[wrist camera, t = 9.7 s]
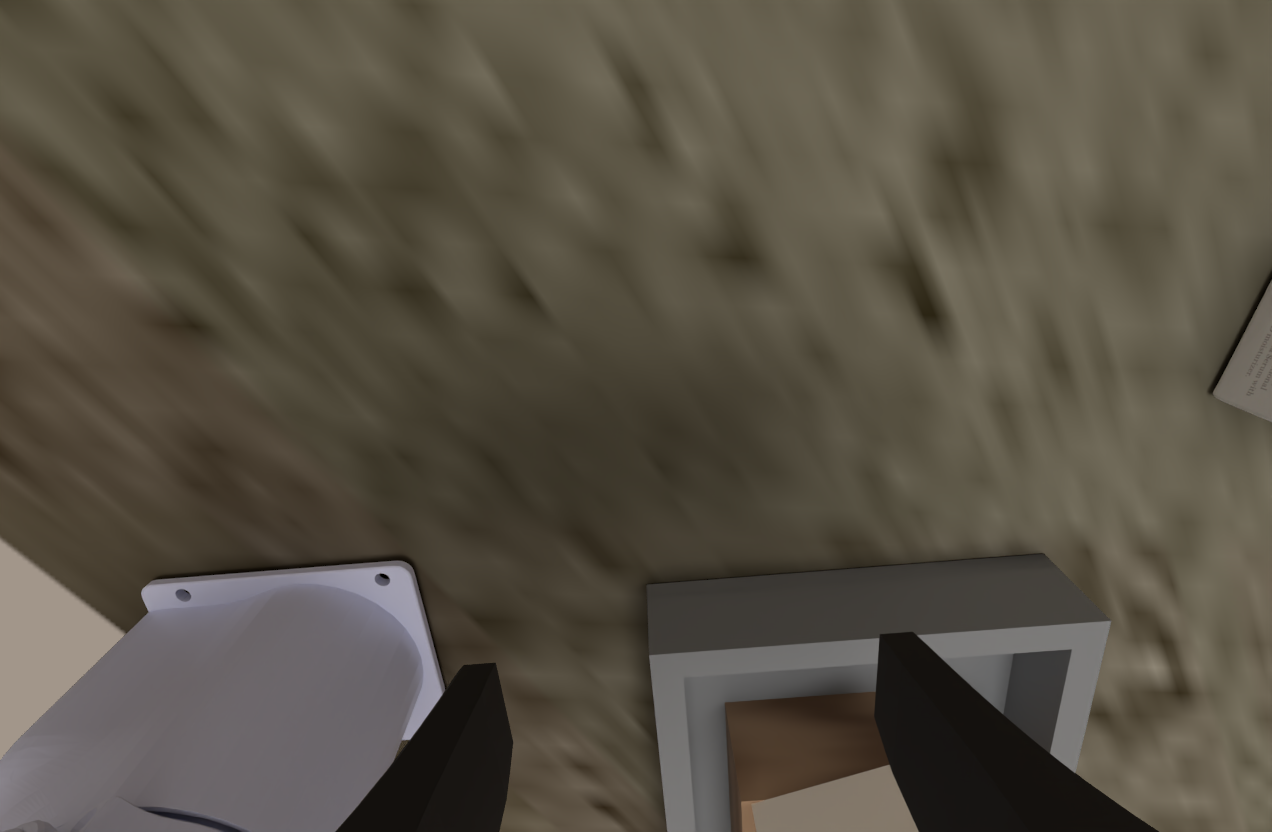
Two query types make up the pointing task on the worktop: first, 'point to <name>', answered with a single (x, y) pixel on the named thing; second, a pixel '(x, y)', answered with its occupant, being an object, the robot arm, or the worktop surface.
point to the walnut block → (796, 747)
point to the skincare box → (1251, 366)
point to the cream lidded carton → (839, 807)
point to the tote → (862, 654)
